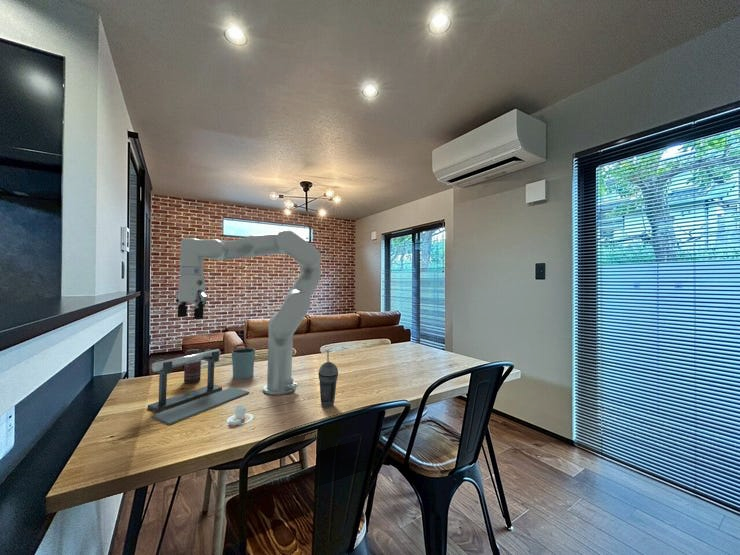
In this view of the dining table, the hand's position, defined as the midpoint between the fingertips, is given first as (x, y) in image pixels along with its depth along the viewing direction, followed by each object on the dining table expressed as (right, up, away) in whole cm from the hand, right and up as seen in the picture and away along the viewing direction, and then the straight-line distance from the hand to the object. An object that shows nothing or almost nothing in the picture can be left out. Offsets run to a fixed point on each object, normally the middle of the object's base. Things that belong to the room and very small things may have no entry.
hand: (190, 317), depth 112 cm
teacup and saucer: (+22, -31, -16) cm, 42 cm away
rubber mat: (+8, -30, -5) cm, 32 cm away
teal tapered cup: (+8, -31, +27) cm, 41 cm away
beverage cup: (+52, -32, -3) cm, 61 cm away
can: (-10, -30, +18) cm, 36 cm away
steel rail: (0, -16, 0) cm, 16 cm away
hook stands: (-1, -30, 0) cm, 30 cm away
